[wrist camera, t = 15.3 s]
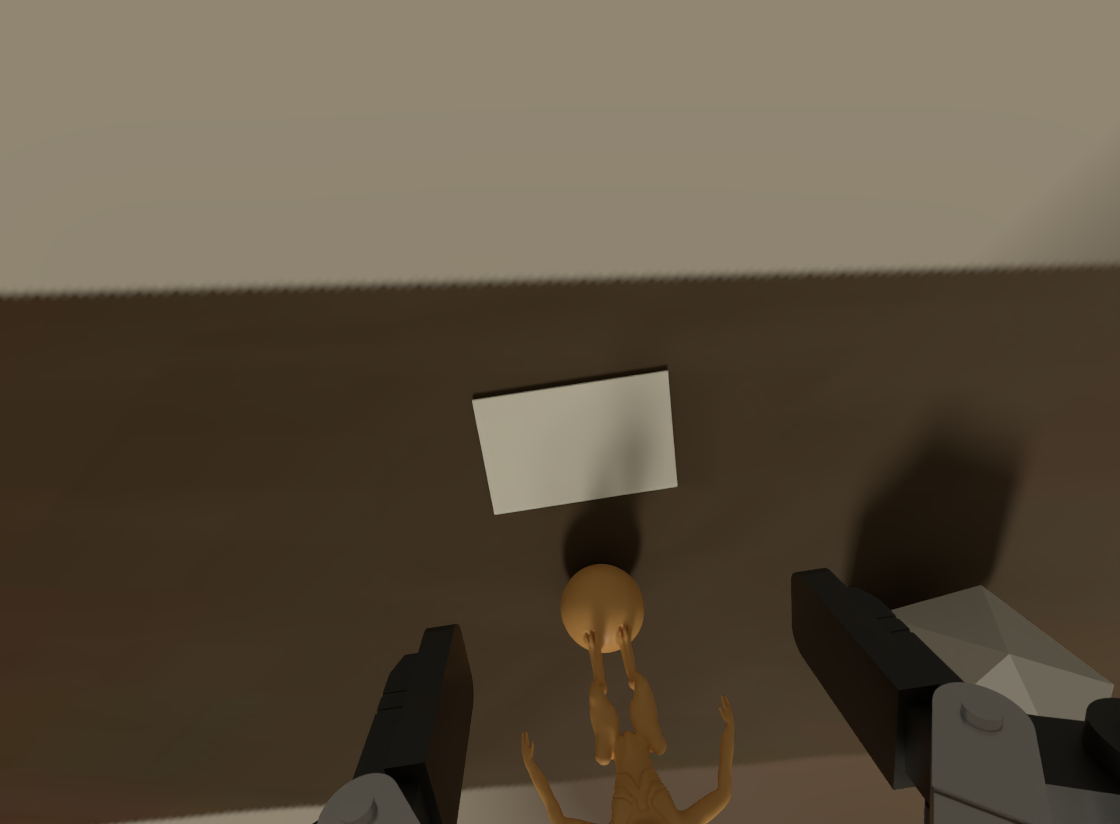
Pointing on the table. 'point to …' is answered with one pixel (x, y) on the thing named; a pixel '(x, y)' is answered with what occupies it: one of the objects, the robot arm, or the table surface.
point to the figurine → (606, 626)
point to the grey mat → (577, 442)
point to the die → (1005, 653)
